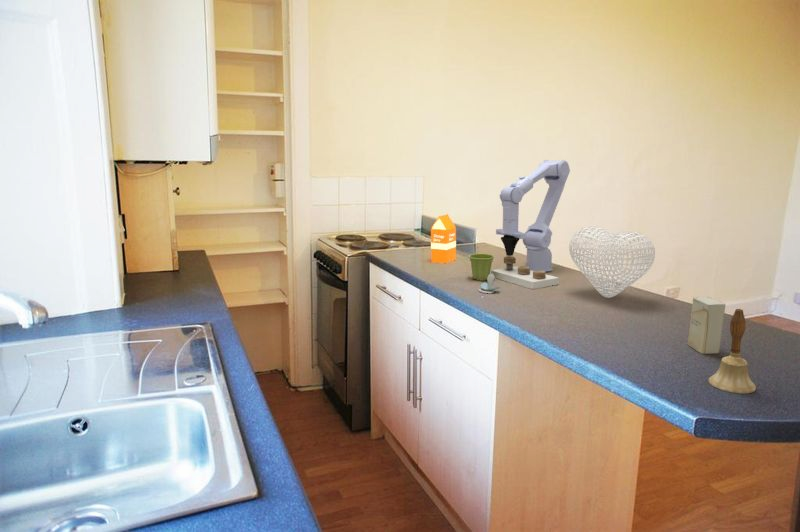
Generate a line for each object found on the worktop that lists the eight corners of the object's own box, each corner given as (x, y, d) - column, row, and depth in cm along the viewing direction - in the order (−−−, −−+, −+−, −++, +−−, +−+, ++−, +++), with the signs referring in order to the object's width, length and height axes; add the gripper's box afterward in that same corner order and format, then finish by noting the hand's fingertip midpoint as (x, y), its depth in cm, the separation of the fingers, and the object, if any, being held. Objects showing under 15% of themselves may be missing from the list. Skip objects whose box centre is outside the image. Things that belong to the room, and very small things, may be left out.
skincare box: (686, 345, 134) (691, 297, 132) (704, 344, 134) (709, 296, 132) (702, 354, 128) (707, 304, 125) (721, 353, 128) (726, 303, 126)
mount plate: (515, 272, 215) (515, 266, 214) (558, 284, 195) (558, 277, 195) (491, 276, 209) (491, 270, 209) (532, 289, 190) (533, 282, 189)
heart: (661, 303, 169) (667, 232, 165) (629, 311, 162) (634, 237, 157) (589, 285, 193) (592, 222, 188) (557, 291, 185) (560, 226, 181)
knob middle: (524, 277, 205) (524, 265, 204) (532, 280, 201) (532, 267, 200) (515, 279, 203) (515, 267, 202) (523, 281, 199) (523, 269, 198)
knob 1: (510, 267, 211) (510, 255, 210) (517, 269, 208) (518, 257, 207) (501, 268, 209) (501, 256, 208) (508, 270, 206) (509, 258, 205)
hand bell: (751, 397, 106) (760, 318, 103) (703, 386, 111) (711, 310, 108) (759, 383, 112) (768, 308, 109) (714, 373, 118) (721, 301, 114)
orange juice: (456, 260, 242) (456, 214, 237) (446, 263, 234) (446, 217, 230) (440, 258, 246) (440, 213, 242) (430, 262, 238) (430, 216, 234)
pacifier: (488, 296, 183) (502, 292, 186) (487, 277, 182) (501, 274, 185) (474, 291, 190) (488, 288, 192) (474, 273, 188) (488, 271, 191)
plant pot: (493, 275, 211) (493, 253, 209) (494, 281, 201) (495, 258, 200) (468, 275, 212) (468, 253, 210) (468, 281, 202) (469, 258, 201)
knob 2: (539, 282, 198) (539, 269, 197) (547, 284, 194) (548, 271, 194) (529, 283, 196) (530, 271, 195) (538, 286, 192) (538, 273, 191)
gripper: (489, 218, 209) (489, 253, 212) (515, 222, 196) (514, 259, 199) (504, 217, 212) (503, 251, 215) (530, 220, 200) (529, 257, 203)
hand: (509, 255), depth 207 cm, fingers closed
